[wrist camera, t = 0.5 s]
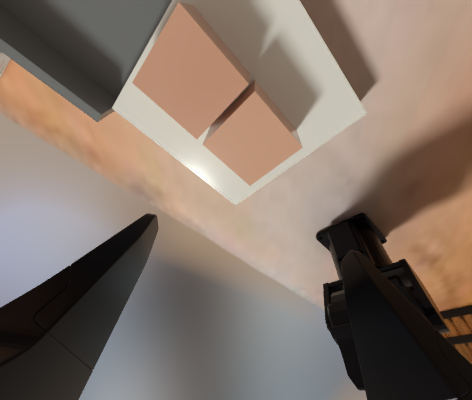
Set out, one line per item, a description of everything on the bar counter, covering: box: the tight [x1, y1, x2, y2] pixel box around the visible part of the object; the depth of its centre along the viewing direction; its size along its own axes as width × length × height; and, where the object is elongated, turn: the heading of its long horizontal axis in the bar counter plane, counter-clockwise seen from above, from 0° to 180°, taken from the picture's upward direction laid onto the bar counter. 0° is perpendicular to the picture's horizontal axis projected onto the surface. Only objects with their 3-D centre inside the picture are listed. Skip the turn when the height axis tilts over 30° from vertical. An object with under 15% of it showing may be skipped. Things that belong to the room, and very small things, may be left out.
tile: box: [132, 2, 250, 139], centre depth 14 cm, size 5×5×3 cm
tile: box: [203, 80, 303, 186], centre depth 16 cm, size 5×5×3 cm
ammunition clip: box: [440, 305, 472, 364], centre depth 35 cm, size 11×2×12 cm, turn 138°
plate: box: [112, 0, 367, 205], centre depth 17 cm, size 14×14×2 cm
